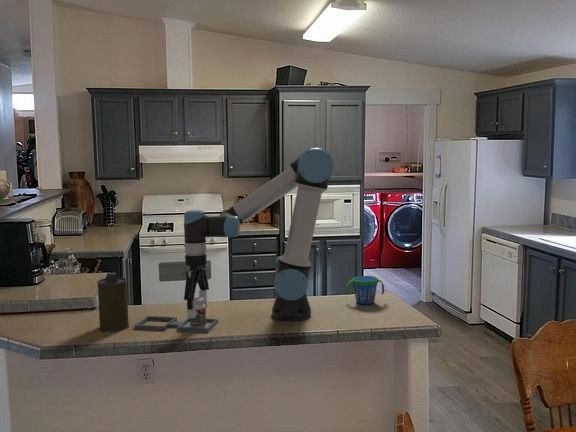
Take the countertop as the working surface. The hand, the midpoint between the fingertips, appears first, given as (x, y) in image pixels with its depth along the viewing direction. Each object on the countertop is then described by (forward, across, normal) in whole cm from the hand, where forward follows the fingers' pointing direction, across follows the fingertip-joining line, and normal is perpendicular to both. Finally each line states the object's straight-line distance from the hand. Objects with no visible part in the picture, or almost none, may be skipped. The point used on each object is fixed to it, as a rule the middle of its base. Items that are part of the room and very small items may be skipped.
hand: (197, 312), depth 208 cm
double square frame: (+5, 0, -8) cm, 10 cm away
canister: (+5, +5, -30) cm, 31 cm away
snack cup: (+6, -41, +58) cm, 71 cm away
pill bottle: (+5, 0, 0) cm, 5 cm away
